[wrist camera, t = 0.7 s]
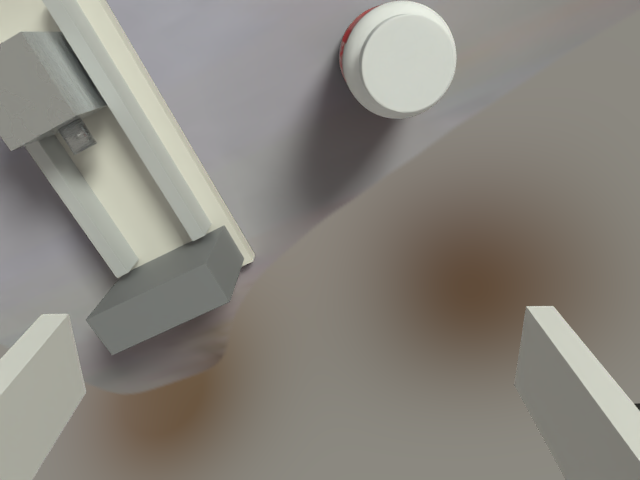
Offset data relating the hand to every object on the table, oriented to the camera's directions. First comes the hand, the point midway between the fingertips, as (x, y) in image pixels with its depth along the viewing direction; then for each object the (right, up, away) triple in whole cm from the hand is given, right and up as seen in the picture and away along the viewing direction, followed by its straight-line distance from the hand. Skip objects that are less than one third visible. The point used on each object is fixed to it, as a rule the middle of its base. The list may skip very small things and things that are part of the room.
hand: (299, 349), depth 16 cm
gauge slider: (-17, +12, +21) cm, 30 cm away
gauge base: (-14, +10, +23) cm, 29 cm away
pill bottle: (+5, +16, +21) cm, 27 cm away
